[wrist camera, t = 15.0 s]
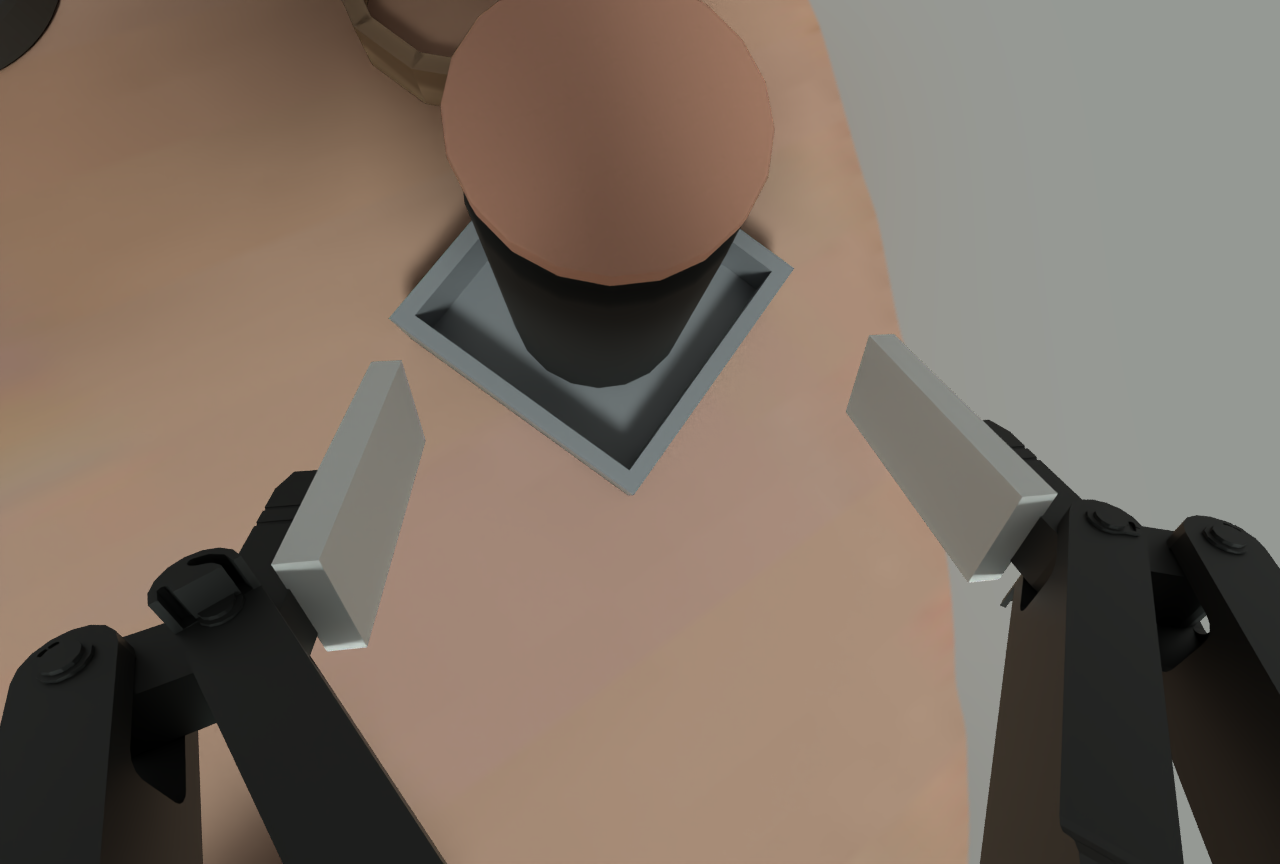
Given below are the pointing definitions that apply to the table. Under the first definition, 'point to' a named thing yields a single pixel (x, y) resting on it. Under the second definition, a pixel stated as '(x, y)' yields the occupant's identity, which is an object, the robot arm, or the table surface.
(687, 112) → the coffee jar
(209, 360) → the table surface
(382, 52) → the ring guard
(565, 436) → the tray
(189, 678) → the robot arm
